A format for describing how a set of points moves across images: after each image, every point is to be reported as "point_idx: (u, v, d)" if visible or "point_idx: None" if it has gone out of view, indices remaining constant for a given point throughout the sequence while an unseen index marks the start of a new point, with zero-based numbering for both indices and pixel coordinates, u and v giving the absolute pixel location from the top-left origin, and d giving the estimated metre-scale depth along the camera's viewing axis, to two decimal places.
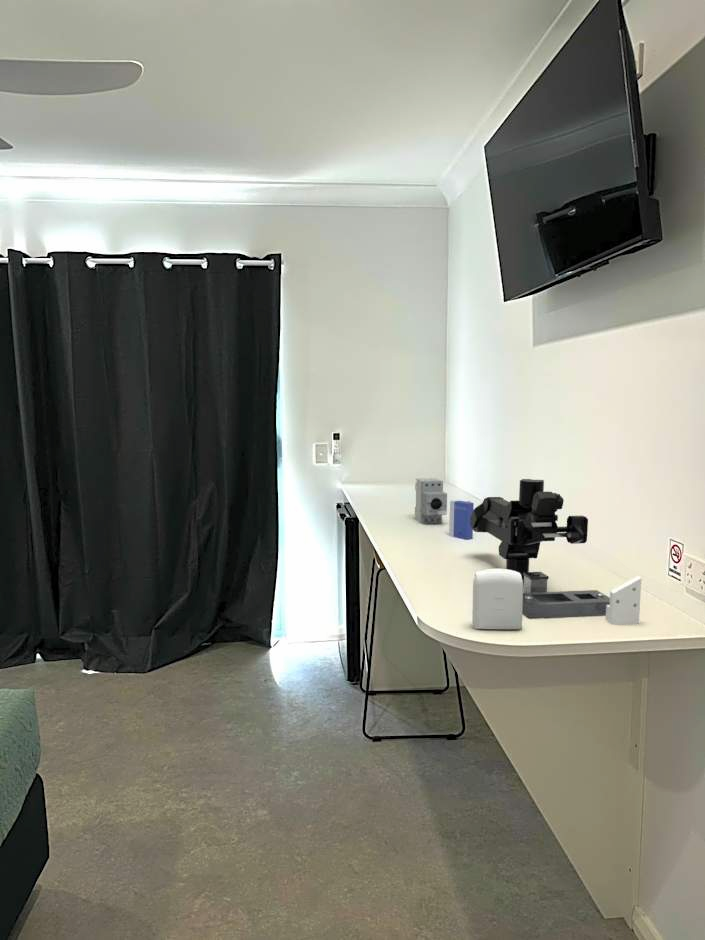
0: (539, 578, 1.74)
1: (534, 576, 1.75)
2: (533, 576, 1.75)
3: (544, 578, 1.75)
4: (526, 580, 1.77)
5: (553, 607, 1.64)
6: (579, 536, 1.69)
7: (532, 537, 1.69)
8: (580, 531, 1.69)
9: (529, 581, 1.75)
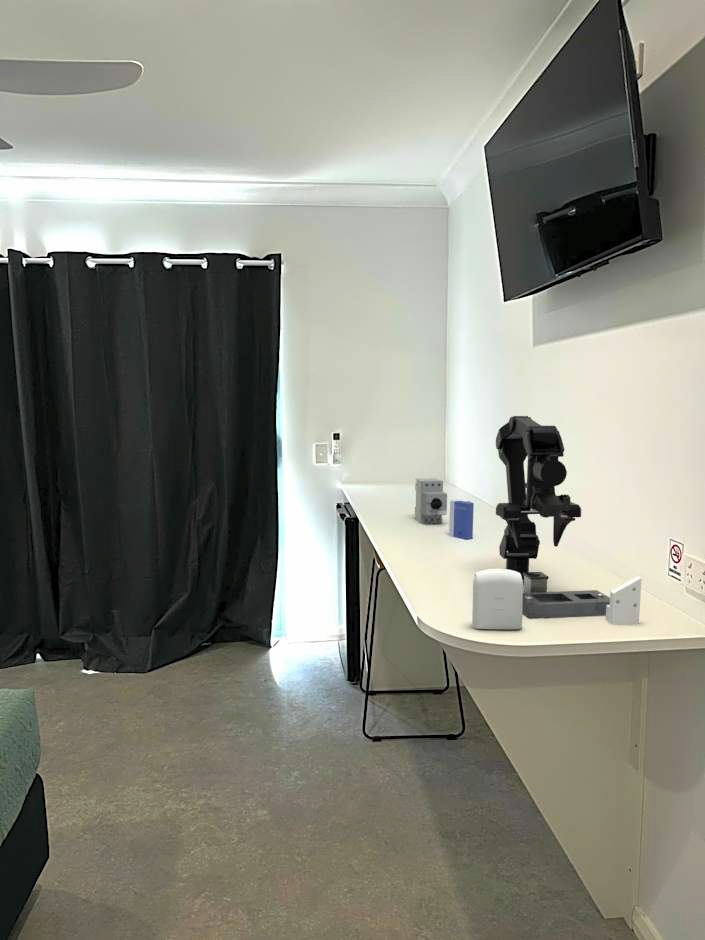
0: (539, 578, 1.74)
1: (534, 576, 1.75)
2: (533, 576, 1.75)
3: (544, 578, 1.75)
4: (526, 580, 1.77)
5: (553, 607, 1.64)
6: (554, 539, 1.76)
7: (513, 532, 1.75)
8: (558, 538, 1.76)
9: (529, 581, 1.75)
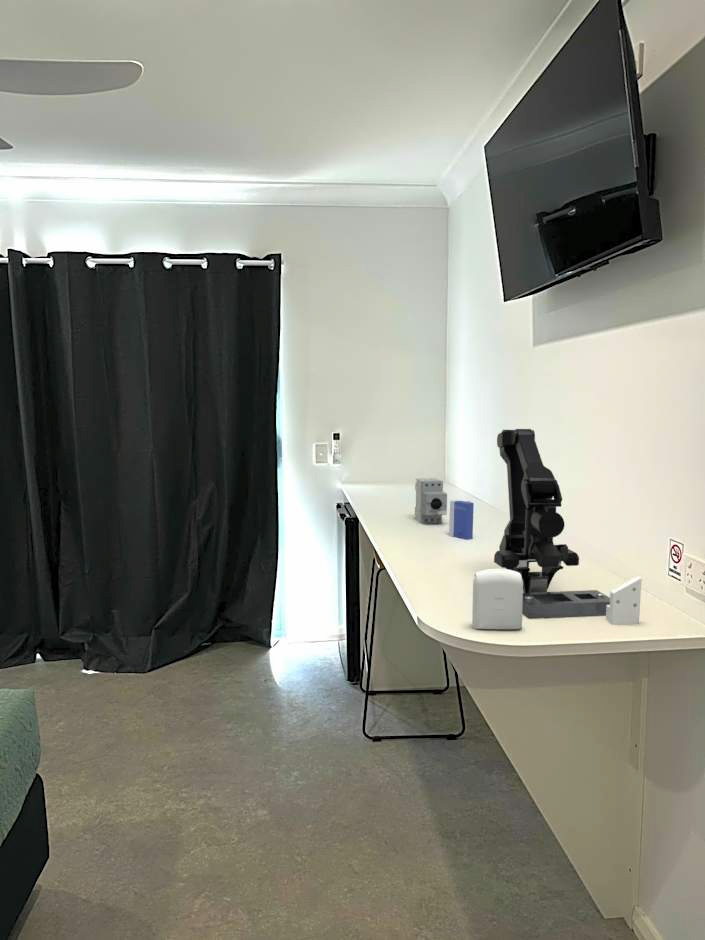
0: (539, 578, 1.74)
1: (534, 576, 1.75)
2: (533, 576, 1.75)
3: (544, 578, 1.75)
4: None
5: (553, 607, 1.64)
6: None
7: None
8: (547, 586, 1.76)
9: (529, 581, 1.75)
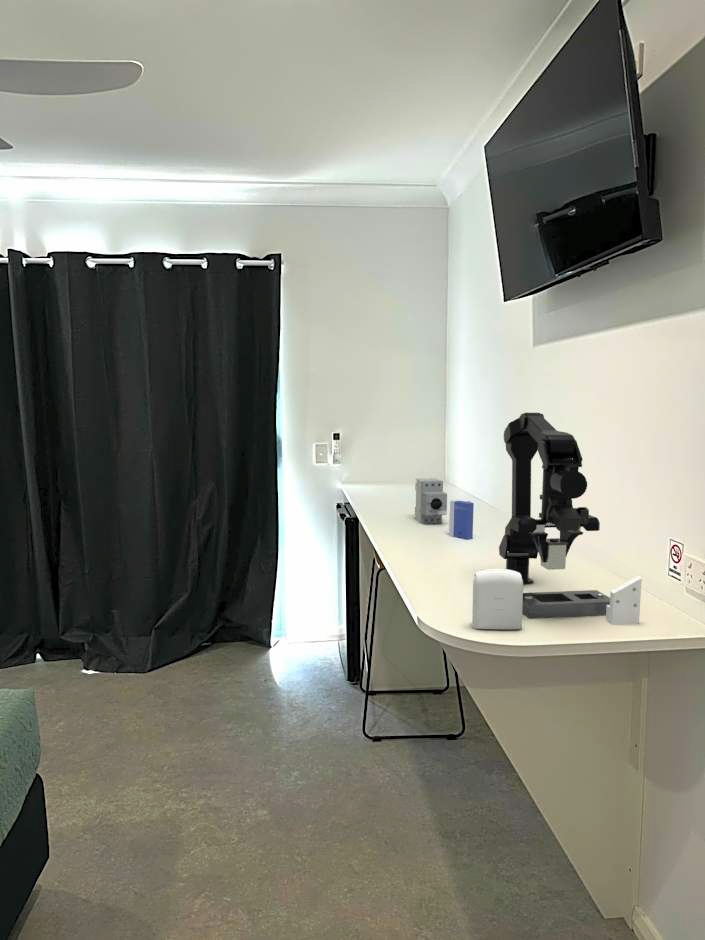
0: (557, 544, 1.65)
1: (552, 542, 1.65)
2: (551, 542, 1.65)
3: (563, 544, 1.65)
4: None
5: (553, 607, 1.64)
6: None
7: (538, 546, 1.67)
8: None
9: (547, 547, 1.65)
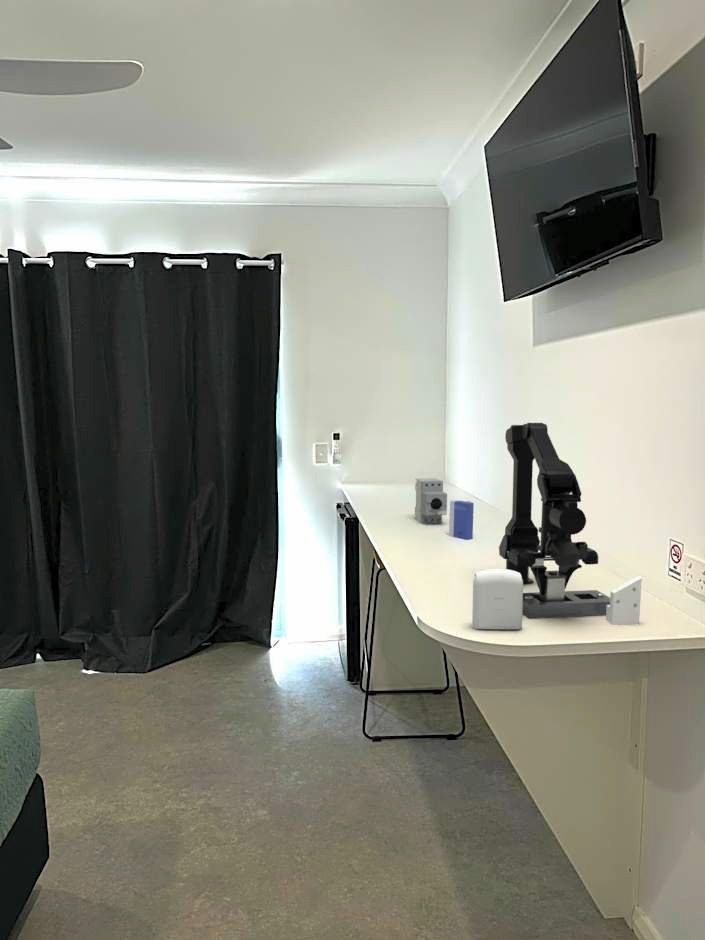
0: (556, 577, 1.65)
1: (551, 575, 1.66)
2: (550, 575, 1.66)
3: (562, 577, 1.66)
4: None
5: (553, 607, 1.64)
6: None
7: (537, 579, 1.68)
8: None
9: (546, 580, 1.66)
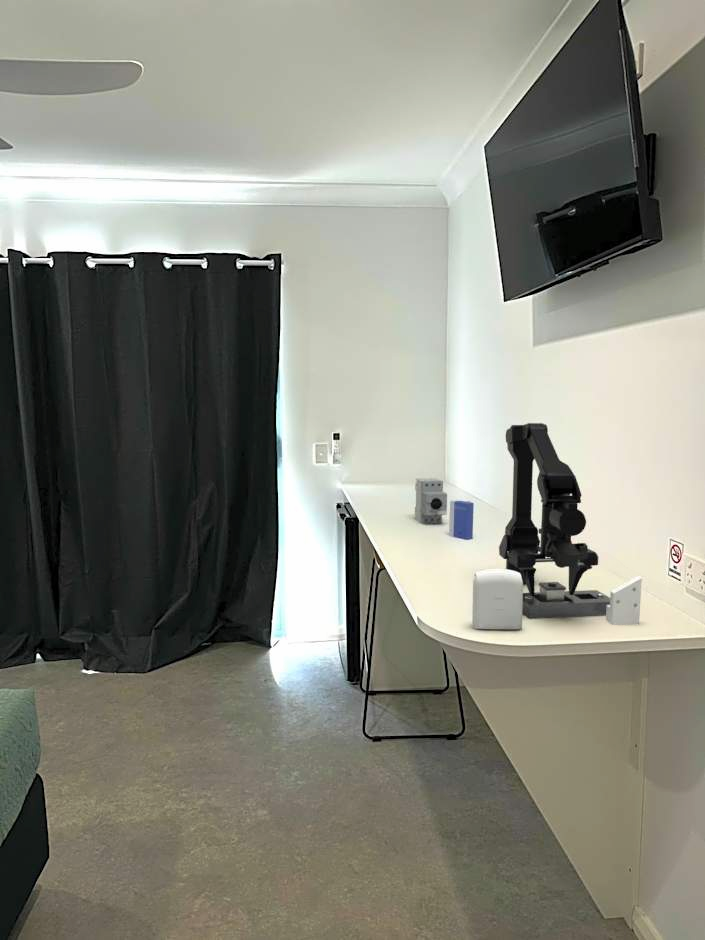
0: (556, 589, 1.66)
1: (550, 587, 1.66)
2: (549, 587, 1.66)
3: (561, 589, 1.66)
4: (542, 591, 1.68)
5: (553, 607, 1.64)
6: (570, 587, 1.69)
7: (526, 581, 1.67)
8: (574, 587, 1.68)
9: (545, 592, 1.66)
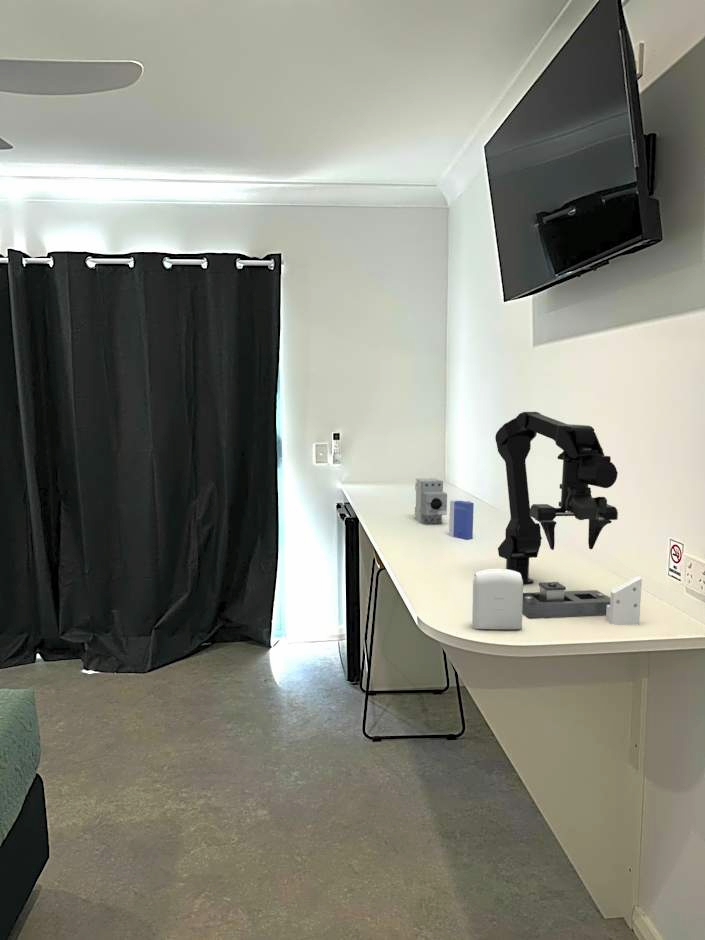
0: (556, 589, 1.66)
1: (550, 587, 1.66)
2: (549, 587, 1.66)
3: (561, 589, 1.66)
4: (542, 591, 1.68)
5: (553, 607, 1.64)
6: (590, 542, 1.73)
7: (547, 534, 1.72)
8: (594, 541, 1.72)
9: (545, 592, 1.66)
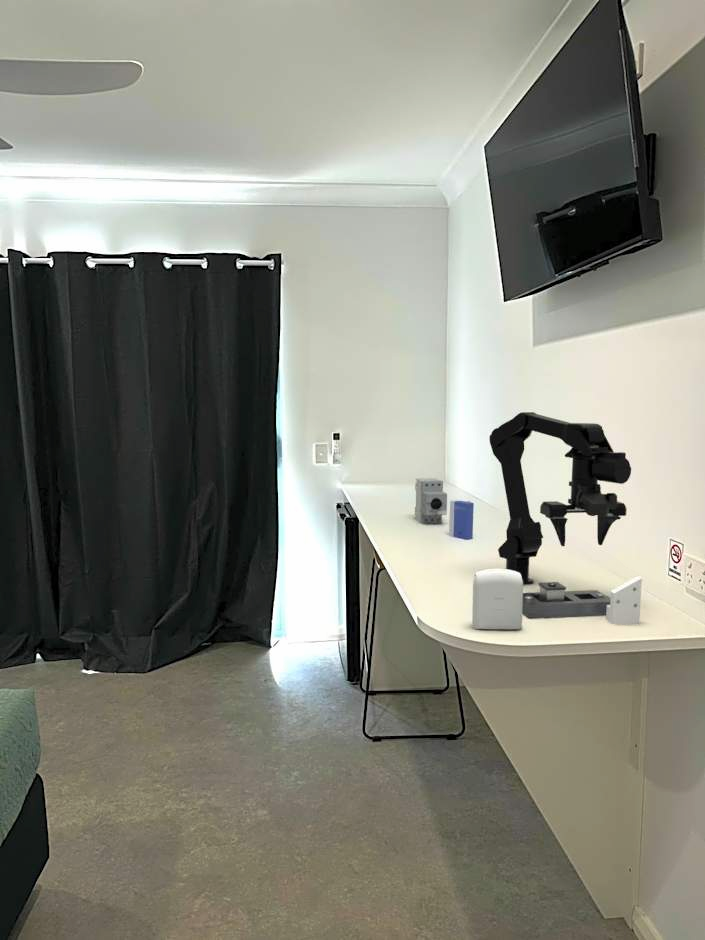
0: (556, 589, 1.66)
1: (550, 587, 1.66)
2: (549, 587, 1.66)
3: (561, 589, 1.66)
4: (542, 591, 1.68)
5: (553, 607, 1.64)
6: (599, 538, 1.76)
7: (557, 531, 1.75)
8: (603, 537, 1.75)
9: (545, 592, 1.66)
